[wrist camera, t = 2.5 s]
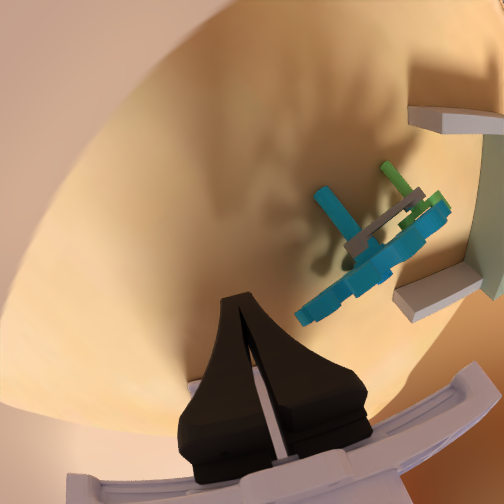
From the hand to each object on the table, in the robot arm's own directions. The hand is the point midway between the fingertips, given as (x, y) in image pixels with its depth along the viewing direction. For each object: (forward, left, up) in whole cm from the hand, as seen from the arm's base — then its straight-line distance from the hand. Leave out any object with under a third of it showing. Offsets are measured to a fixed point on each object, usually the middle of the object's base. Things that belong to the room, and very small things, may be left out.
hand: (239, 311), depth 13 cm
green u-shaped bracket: (+18, 0, -4) cm, 19 cm away
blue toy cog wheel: (+8, 0, -5) cm, 9 cm away
